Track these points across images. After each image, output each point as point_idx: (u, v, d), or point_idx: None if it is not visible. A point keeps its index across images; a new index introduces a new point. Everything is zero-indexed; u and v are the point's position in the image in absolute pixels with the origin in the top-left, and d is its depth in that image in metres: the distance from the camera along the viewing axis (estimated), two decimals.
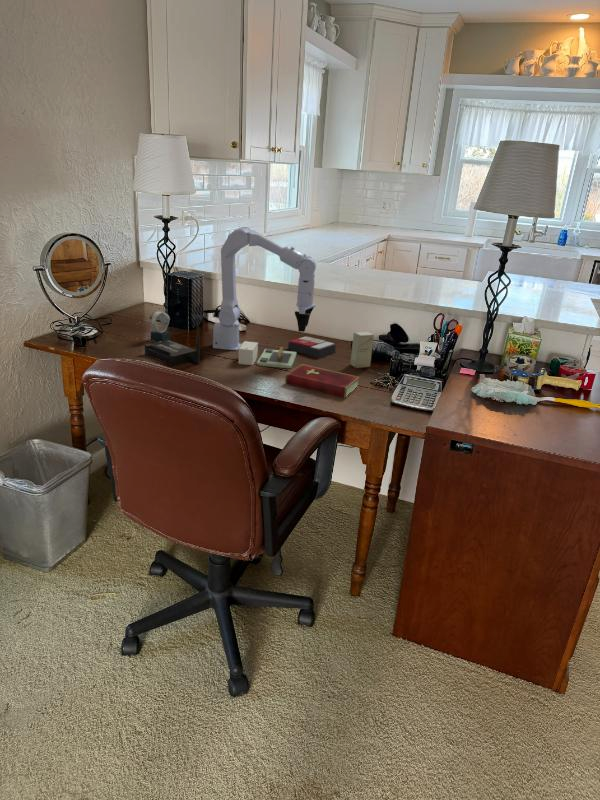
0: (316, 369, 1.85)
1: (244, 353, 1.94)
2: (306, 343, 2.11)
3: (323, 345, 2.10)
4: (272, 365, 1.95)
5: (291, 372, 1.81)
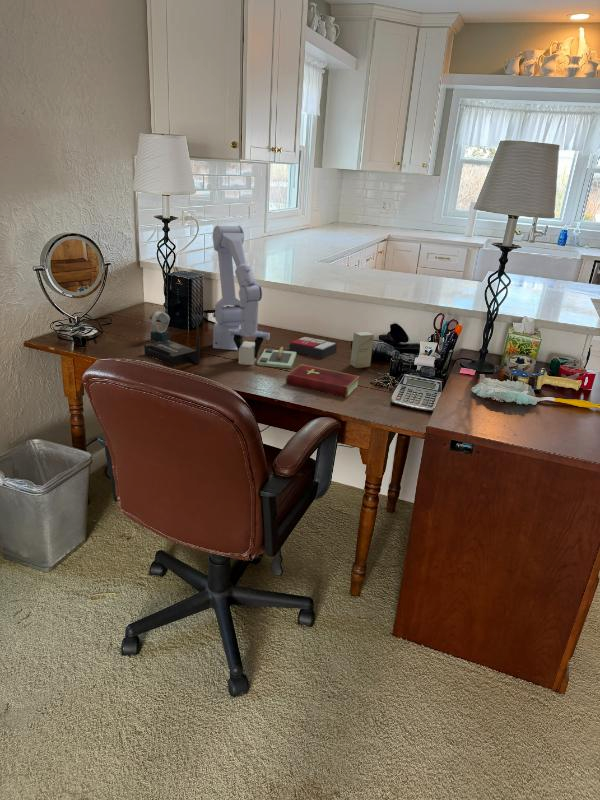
0: (316, 369, 1.85)
1: (244, 353, 1.94)
2: (308, 344, 2.11)
3: (325, 345, 2.10)
4: (272, 365, 1.95)
5: (291, 372, 1.81)
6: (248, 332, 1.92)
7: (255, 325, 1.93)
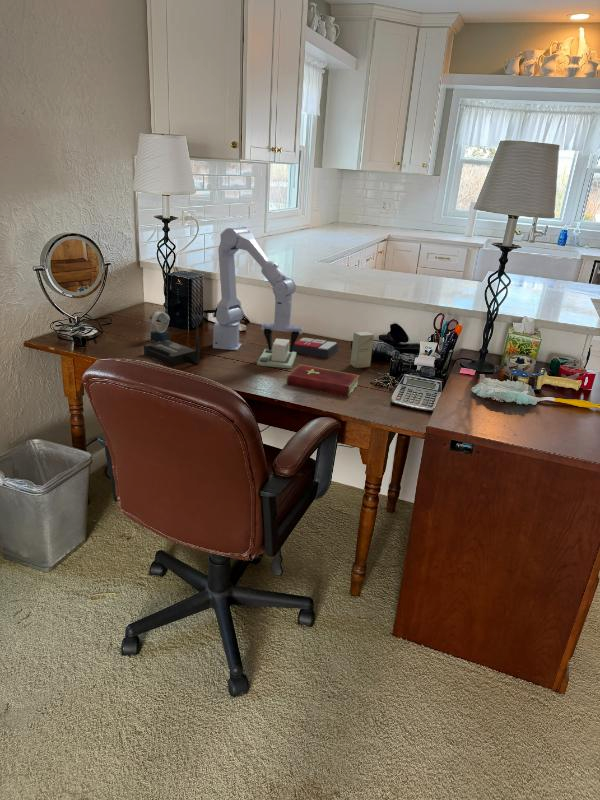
0: (315, 369, 1.85)
1: (277, 350, 1.96)
2: (311, 344, 2.10)
3: (328, 345, 2.10)
4: (272, 365, 1.95)
5: (292, 373, 1.80)
6: (282, 326, 1.94)
7: (288, 319, 1.95)
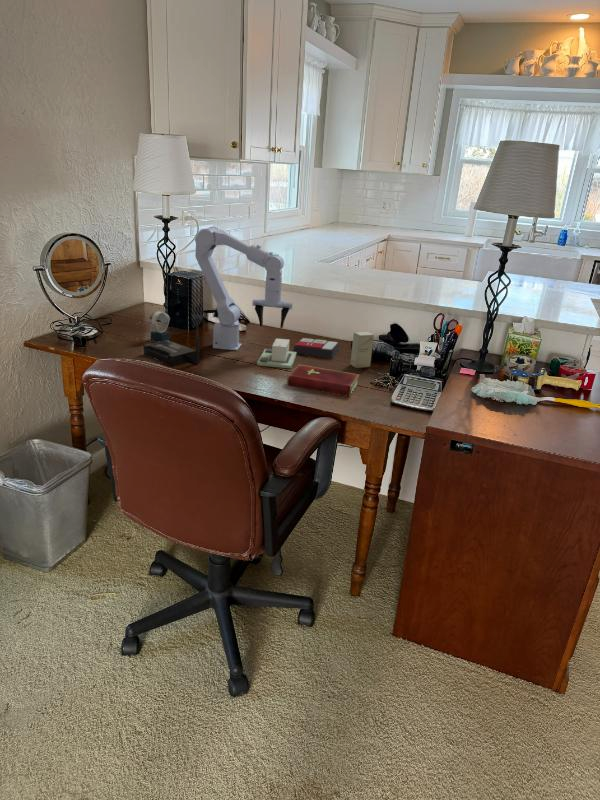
0: (315, 369, 1.85)
1: (277, 350, 1.96)
2: (314, 345, 2.10)
3: (331, 345, 2.11)
4: (272, 365, 1.95)
5: (292, 373, 1.80)
6: (272, 302, 2.00)
7: (279, 295, 2.00)
